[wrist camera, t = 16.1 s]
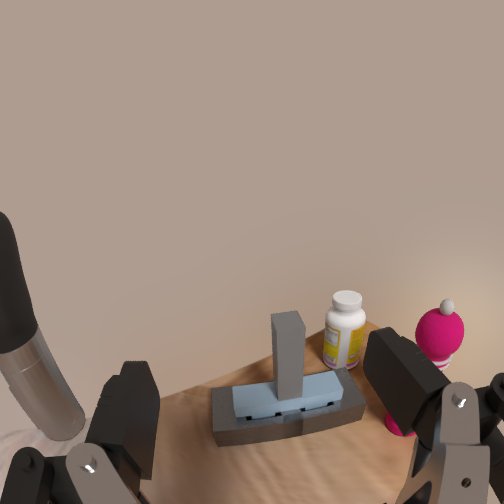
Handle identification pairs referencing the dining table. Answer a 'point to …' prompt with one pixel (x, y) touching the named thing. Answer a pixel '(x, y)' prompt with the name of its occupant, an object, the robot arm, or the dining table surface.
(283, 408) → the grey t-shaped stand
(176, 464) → the dining table surface
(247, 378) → the dining table surface
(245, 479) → the dining table surface
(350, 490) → the dining table surface
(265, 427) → the dark grey rectangular block
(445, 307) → the pepper mill
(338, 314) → the supplement bottle
